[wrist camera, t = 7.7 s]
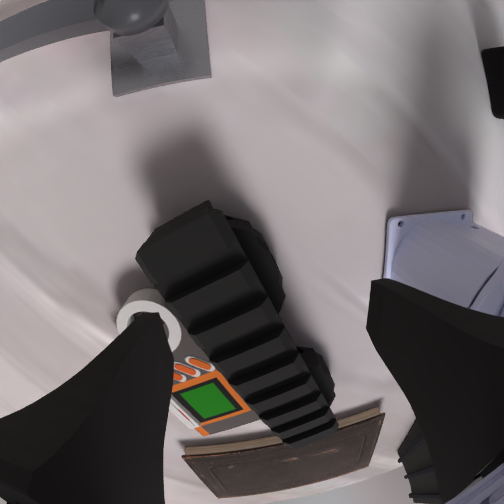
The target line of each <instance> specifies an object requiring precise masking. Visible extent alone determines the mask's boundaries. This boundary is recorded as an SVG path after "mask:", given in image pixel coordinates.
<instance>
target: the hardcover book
mask: <svg viewBox="0 0 504 504" xmlns="http://www.w3.org/2000/svg"><path fill="white" fill-rule="evenodd" d="M384 417H385V413H382V414H381V413H380V411H379V410H378V407H376V408H373V409H371V410H368V411H365V412H362V413H359V414H356V415H353V416H350V417H347V418H344V419H340V420H337V421H338V423H339V427H338V429H337V432H336V433H335V434H333V435H331V436H328V437H326V438H324V439H321V440H319V441H316V442H314V443H311V444H308V445H306V446H303V447H300V448H297V449H295V450H294V449H292V448H290V447H288V446H286V445H285V444H284V443H283V442H282V440H281V439H280V438H279V437H278V436H272V437H266V438H261V439H255V440H249V441H242V442H235V443H227V444H218V445H208V446H195V447H185V448H186V449H185V450H184V452H185V453H186V454H185V455H182V458H183V459H184V461H185V462H186V463H187V464H188V465H189V467H190V468H191V469H192V470H193V471H194V472H195V474H196V475H197V476H198V477H199V478H200V479H201V480H202V482H203V483H204V484H205V485H206V486H207V487H208V488H209V489H210V490H211V491H212V492H213V493H214V495H215V496H216V497H217V498H229V497H240V496H248V495H256V494H263V493H269V492H275V491H281V490H286V489H291V488H296V487H300V486H304V485H309V484H313V483H317V482H320V481H324V480H328V479H331V478H335V477H338V476H341V475H345V474H348V473H351V472H354V471H357V470H360V469H362V468H365V467H368V466H369V463H370V460H371V458H372V455H373V452H374V449H375V446H376V443H377V440H378V437H379V434H380V430H381V427H382V424H383V420H384Z"/></svg>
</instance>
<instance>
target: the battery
mask: <svg viewBox="0 0 504 504" xmlns="http://www.w3.org/2000/svg"><path fill="white" fill-rule="evenodd" d="M482 57H483V61H484V65H485V70H486V74H487V79H488V84H489V90H490V96H491V102H492V109H493V114H494V116H495V117H496V118H499V119H504V46H503V47H496V48H489V49H484V50H482Z"/></svg>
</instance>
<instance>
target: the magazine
mask: <svg viewBox="0 0 504 504" xmlns="http://www.w3.org/2000/svg"><path fill="white" fill-rule="evenodd" d="M398 455H399V457H400V458H399V459H398V462H399V463H400V462H402V463H403V465H404V468H405V470H406V473H407V475H405V476H404V477H405V479H407V478H408V479H409V482H410V485H411V491H412V493H410V494H409V498H413V501H414V503H425V504H443V503H442V501H441V499H440V497H439V491H438V485H437V480H436V476H435V471H434V467H433V463H432V460H431V456H430V453H429V450H428V447H427V444H426V441H425V438H424V436H423V433H422V430H421V428H420V425H419V423H418V420H417V419H416V421H415V423H414V425H413V426H412V428H411V430H410V432H409V434H408V435H407V437H406V439H405V440H404V442H403V444H402V445H401V447H400V449H399V450H398Z"/></svg>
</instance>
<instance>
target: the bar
mask: <svg viewBox="0 0 504 504" xmlns="http://www.w3.org/2000/svg"><path fill="white" fill-rule="evenodd" d="M168 4H169V1H168V0H49V1H46V2H43V3H41V4H38V5H36V6H33V7H31V8H29V9H26V10H24V11H22V12H20V13H17V14H15V15H13V16H11V17H9V18H7V19H5V20H3V21H1V22H0V62H2V61H4V60H6V59H9V58H11V57H14V56H16V55H19V54H22V53H24V52H27V51H30V50H33V49H36V48H39V47H42V46H45V45H48V44H51V43H55V42H58V41H62V40H65V39H69V38H73V37H77V36H82V35H86V34H91V33H96V32H101V31H106V30H110V31H111V32H113V33H114V34H117V35H121V36H132V35H137V34H140V33H142V32H145V31H147V30H149V29H150V28H152V27H153V26H155V25H156V24H157V23H158V22H159V21H160V20H161V19H162V18H163V16H164V15H165V13H166V11H167V9H168Z"/></svg>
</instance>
